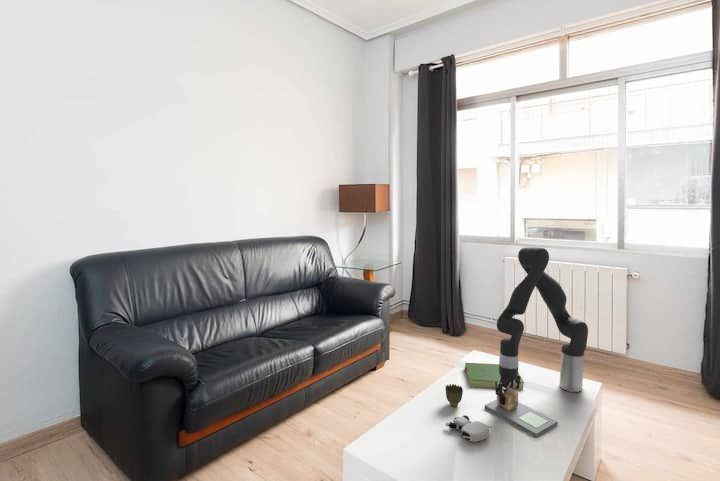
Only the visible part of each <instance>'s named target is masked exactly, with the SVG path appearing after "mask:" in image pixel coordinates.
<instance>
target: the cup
mask: <svg viewBox="0 0 720 481" xmlns="http://www.w3.org/2000/svg"><path fill="white" fill-rule="evenodd" d="M463 392H464V389H463V387H462V385H460V386H459V384H457V385H456V383H455V384H454V383H452V384H450V383H449V384H447V385H445V397H446V400H447V401H448V403H449V405H450V406H451V407H453V408H457V407H458V405H459V403H460V402H462V399H463V394H464V393H463Z"/></svg>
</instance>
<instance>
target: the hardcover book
mask: <svg viewBox="0 0 720 481" xmlns="http://www.w3.org/2000/svg"><path fill="white" fill-rule="evenodd" d="M464 369H465V371H466V373H467V378H468V380H469V384H470V386H471V387H481V388H482V387H483V388H485V387H486V388H495V382H499V381H500V379H501V376H500V374H499V363H481V362H479V363H478V362H465V365H464ZM518 375H519V376H521V374H520V373H519V372H518ZM524 384H525V381H524V380H523V378H522V377H521V378H520V386H519V389H518V390H520V389H521V390H522V389H523V390H524ZM516 386H517V383H516Z"/></svg>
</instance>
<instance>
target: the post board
mask: <svg viewBox="0 0 720 481" xmlns="http://www.w3.org/2000/svg"><path fill="white" fill-rule="evenodd" d="M484 409H485V410H487V411H488V412H490V413H492V414H494V415H495V416H498V417H499V418H501V419H502V420H505V421H506V422H508V423H509V424H512V425H513V426H515V427H517V428H519V429H520V430H522V431H524V432H526V433H528V434H529V435H531V436H533V437H535V438H538V437H539V436H541V435H543V434H545V433H547V432H548V431H550V430H552V429H553V428H554V427H556V426H558V424H559V423H558V421H557V420H556V419H553V418H552V417H549V416H548V415H546V414H543V413H541V412H539V411H538V410H535V409H533V408H532V407H529V406H527V405H525V404H524V403H522V402H519V401H518V406H517V407H515V408H513V409H511V410H509V411H508V410H506V409H505V408H503V407H501V406H499V405H497V399H495V400H493V401H490V402H489V403H486V404H484Z"/></svg>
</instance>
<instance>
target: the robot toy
mask: <svg viewBox="0 0 720 481" xmlns="http://www.w3.org/2000/svg"><path fill="white" fill-rule="evenodd" d="M445 427H448V428H449V429H451V430H452V429H453V430H455V429H456V430H458V431H460V432H461V436H462V438H464V439H466V440H467V441H469V442H470V443H471V442H474V443H475V442H479V441H482V440H485V439H486V438H488V436H490V428H491V429H494V428H495V427H494V426H489V425H487V424H485V423H484V422H481V421H479V420H478V421H476V420H475V421H471V420H470V418H469V416H468V415H465V414H464V415H462V416H456V417H453V422H451V421H449V422H445Z"/></svg>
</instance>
